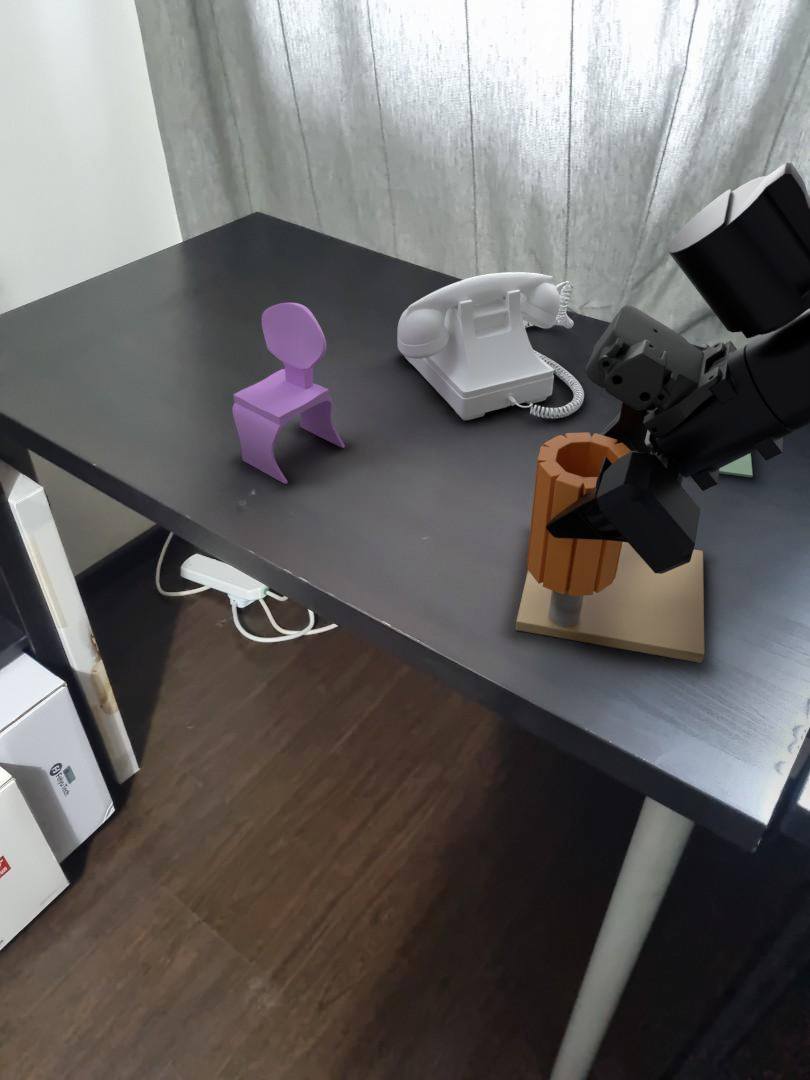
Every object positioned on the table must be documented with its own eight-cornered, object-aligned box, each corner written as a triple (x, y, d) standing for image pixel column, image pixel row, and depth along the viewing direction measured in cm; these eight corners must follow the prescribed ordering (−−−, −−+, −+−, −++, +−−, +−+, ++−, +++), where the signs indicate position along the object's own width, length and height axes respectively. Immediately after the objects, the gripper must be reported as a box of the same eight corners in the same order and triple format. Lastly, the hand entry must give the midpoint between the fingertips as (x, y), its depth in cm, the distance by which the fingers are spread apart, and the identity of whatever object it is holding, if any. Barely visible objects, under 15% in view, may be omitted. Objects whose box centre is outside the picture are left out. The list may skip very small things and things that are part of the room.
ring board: (700, 559, 70) (714, 513, 67) (701, 663, 62) (717, 616, 58) (536, 534, 73) (541, 489, 70) (515, 630, 64) (520, 583, 61)
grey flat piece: (749, 445, 83) (749, 443, 83) (752, 477, 79) (752, 475, 79) (691, 438, 84) (692, 436, 84) (691, 469, 80) (691, 467, 80)
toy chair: (232, 458, 83) (206, 319, 73) (296, 422, 88) (279, 286, 78) (288, 491, 79) (269, 347, 69) (352, 450, 84) (343, 311, 74)
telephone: (549, 320, 105) (559, 221, 97) (649, 396, 91) (671, 287, 82) (367, 361, 98) (361, 257, 90) (444, 451, 83) (446, 338, 75)
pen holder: (618, 543, 62) (639, 438, 56) (612, 603, 58) (634, 495, 51) (534, 531, 64) (545, 426, 58) (521, 588, 59) (532, 481, 53)
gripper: (704, 220, 52) (519, 353, 62) (670, 355, 38) (442, 497, 49) (801, 353, 55) (610, 459, 65) (801, 521, 41) (560, 622, 52)
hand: (560, 501), depth 57 cm, fingers closed on pen holder, 6 cm apart
